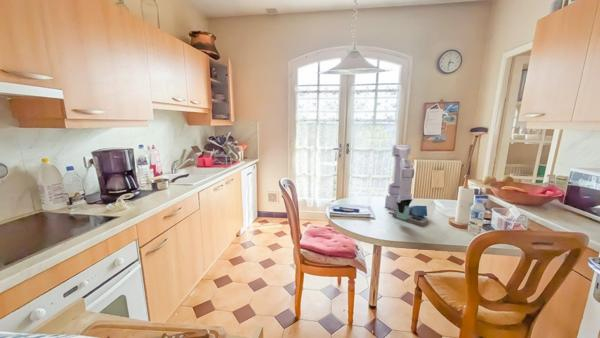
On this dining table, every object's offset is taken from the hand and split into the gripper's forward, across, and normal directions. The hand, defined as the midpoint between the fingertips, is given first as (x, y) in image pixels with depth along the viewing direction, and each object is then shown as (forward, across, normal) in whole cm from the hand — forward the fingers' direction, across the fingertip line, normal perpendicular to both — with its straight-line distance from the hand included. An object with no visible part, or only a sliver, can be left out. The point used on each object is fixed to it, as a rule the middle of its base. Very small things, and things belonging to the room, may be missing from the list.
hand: (402, 211), depth 139 cm
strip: (+8, +10, +2) cm, 13 cm away
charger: (+3, 0, 0) cm, 3 cm away
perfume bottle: (+4, +21, -4) cm, 22 cm away
